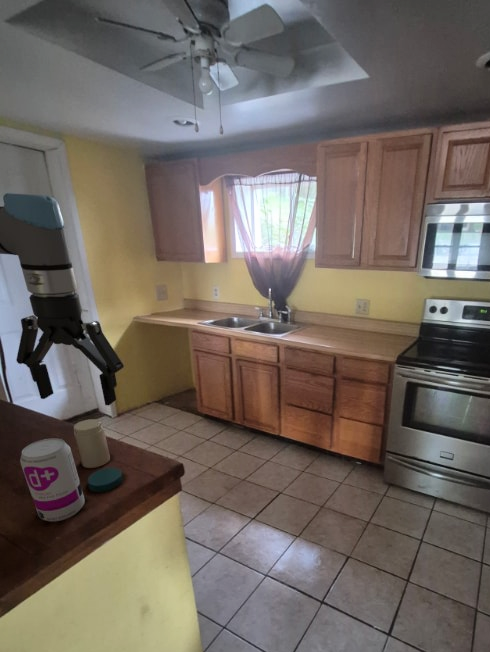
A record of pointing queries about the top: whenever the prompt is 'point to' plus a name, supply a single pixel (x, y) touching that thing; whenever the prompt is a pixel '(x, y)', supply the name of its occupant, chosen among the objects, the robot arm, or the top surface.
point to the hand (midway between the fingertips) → (79, 399)
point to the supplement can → (52, 479)
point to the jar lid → (105, 479)
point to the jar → (91, 443)
